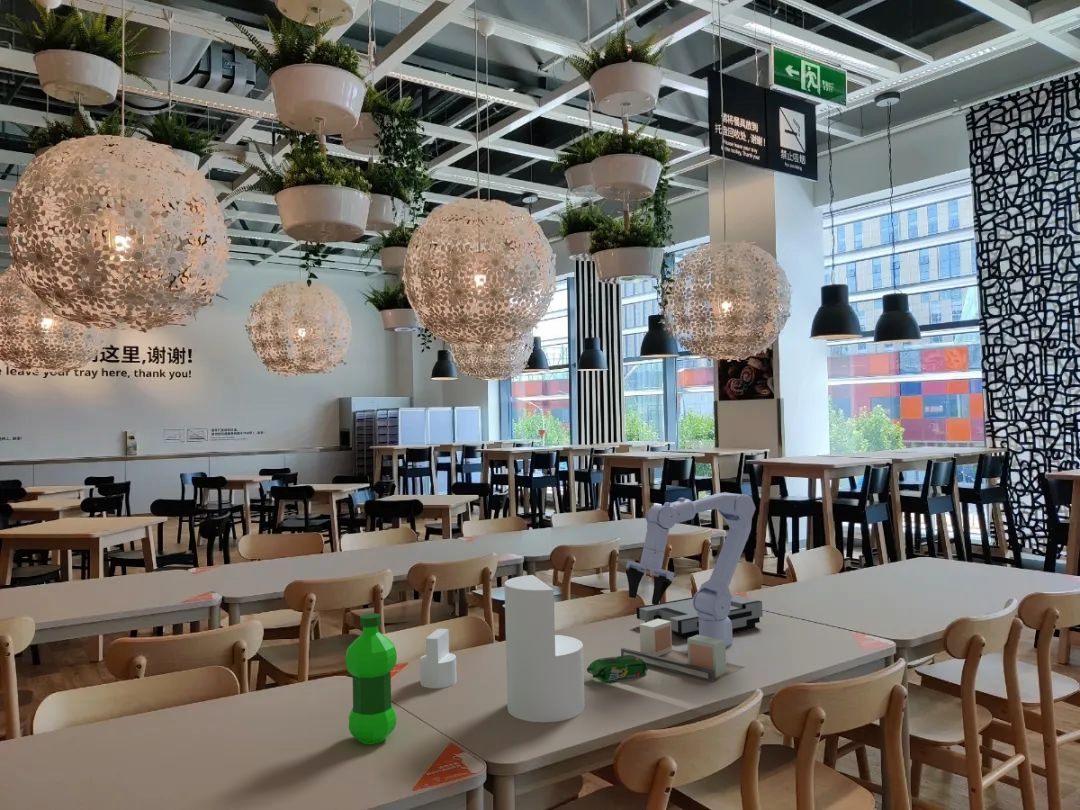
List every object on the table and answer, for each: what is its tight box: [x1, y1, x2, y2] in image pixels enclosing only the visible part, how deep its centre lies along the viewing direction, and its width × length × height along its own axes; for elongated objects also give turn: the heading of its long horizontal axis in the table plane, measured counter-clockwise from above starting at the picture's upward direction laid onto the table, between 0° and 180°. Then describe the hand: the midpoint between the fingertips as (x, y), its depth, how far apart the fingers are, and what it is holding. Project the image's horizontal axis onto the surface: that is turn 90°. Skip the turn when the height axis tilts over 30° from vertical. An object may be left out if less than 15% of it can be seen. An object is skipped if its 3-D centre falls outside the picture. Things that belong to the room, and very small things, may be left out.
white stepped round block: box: [504, 574, 585, 723], centre depth 171 cm, size 17×17×28 cm
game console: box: [636, 593, 764, 639], centre depth 232 cm, size 21×32×8 cm, turn 120°
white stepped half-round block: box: [419, 628, 458, 689], centre depth 189 cm, size 9×9×12 cm
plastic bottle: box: [345, 613, 398, 745], centre depth 156 cm, size 10×10×25 cm
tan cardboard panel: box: [620, 647, 745, 683], centre depth 197 cm, size 15×28×4 cm, turn 44°
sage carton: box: [686, 635, 727, 678], centre depth 189 cm, size 5×8×8 cm, turn 44°
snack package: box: [586, 655, 649, 684], centre depth 188 cm, size 7×16×5 cm, turn 110°
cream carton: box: [639, 619, 673, 656], centre depth 206 cm, size 5×8×8 cm, turn 134°
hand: (643, 601), depth 201 cm, fingers open, 7 cm apart
